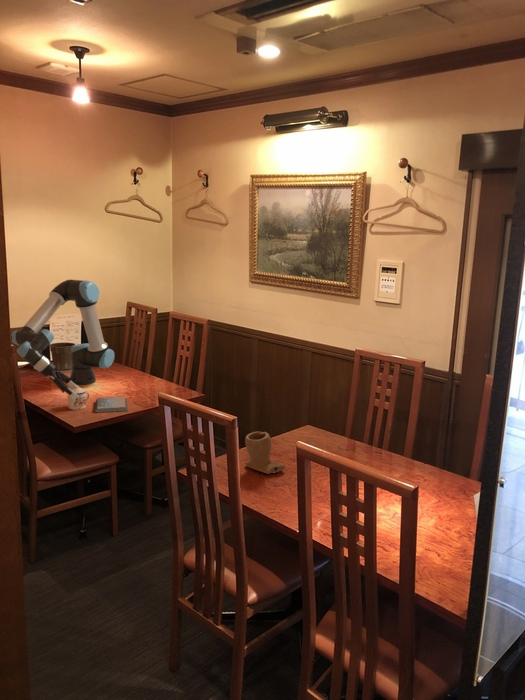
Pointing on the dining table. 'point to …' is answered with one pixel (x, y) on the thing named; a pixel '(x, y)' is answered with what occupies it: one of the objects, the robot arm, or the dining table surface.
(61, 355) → the plant pot
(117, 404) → the press bed
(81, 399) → the teacup with lid
